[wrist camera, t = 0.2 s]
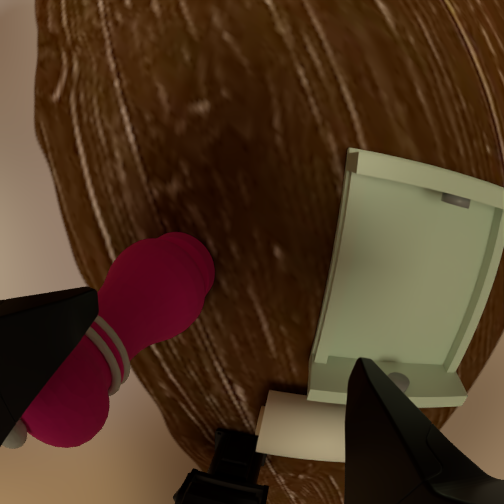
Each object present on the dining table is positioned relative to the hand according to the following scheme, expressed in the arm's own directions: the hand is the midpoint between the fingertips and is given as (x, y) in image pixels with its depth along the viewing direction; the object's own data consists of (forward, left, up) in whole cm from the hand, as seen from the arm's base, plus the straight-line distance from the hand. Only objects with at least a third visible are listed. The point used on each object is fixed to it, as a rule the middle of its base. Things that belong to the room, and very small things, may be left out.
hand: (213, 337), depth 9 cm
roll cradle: (-2, -12, -14) cm, 19 cm away
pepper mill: (-4, +7, -15) cm, 17 cm away
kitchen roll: (-17, -8, -11) cm, 22 cm away
